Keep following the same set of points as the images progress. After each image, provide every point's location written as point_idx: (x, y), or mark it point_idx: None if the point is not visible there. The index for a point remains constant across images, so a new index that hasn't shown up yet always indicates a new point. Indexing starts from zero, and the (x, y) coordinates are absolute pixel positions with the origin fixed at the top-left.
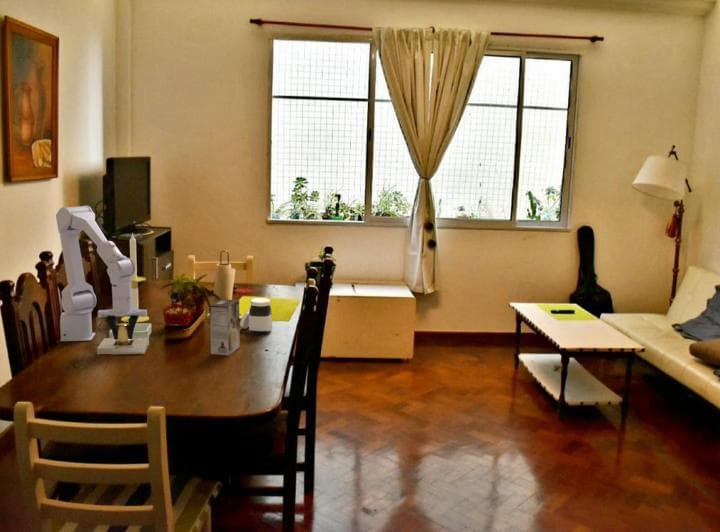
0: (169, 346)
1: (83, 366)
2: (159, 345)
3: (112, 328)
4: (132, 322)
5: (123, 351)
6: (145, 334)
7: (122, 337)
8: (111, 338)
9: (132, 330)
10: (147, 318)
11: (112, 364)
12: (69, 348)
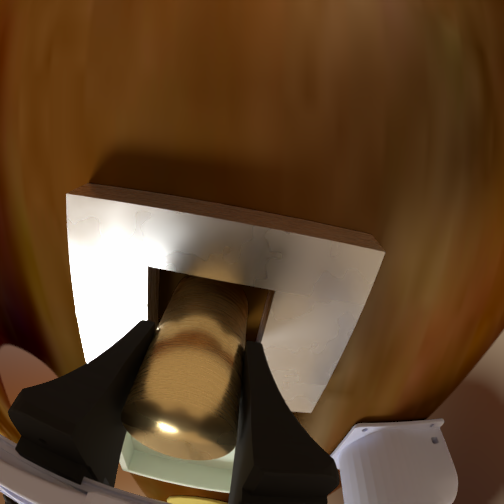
0: (13, 278)
1: (447, 41)
2: (50, 305)
3: (274, 406)
4: (54, 396)
5: (203, 206)
6: None
7: (196, 327)
8: None
9: (101, 353)
10: (169, 502)
11: (282, 5)
12: (451, 356)
